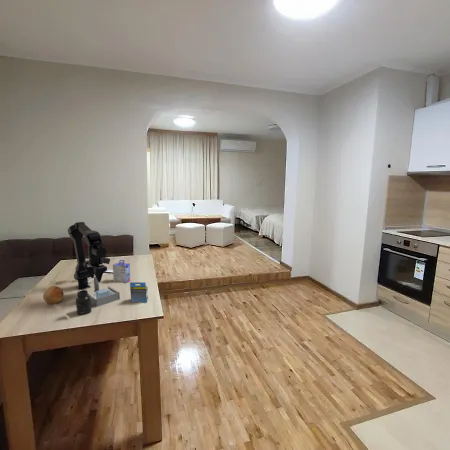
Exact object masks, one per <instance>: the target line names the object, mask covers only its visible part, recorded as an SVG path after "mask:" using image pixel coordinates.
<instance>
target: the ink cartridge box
mask: <svg viewBox="0 0 450 450" xmlns="http://www.w3.org/2000/svg"><path fill="white" fill-rule="evenodd" d="M130 264H131V263H127V262H126V261H125V259H119V261H118V262H116V263H114V264H112V275H113V276H112V277H113V278H112V279H113V283H116V282H121V283H123V284H127V283H130V282H131V265H130Z"/></svg>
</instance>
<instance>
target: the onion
mask: <svg viewBox="0 0 450 450" xmlns="http://www.w3.org/2000/svg"><path fill="white" fill-rule="evenodd" d="M64 295H65V294H64V291H63V288H61V287H59V286H57V285H52V286H49V287H48V288H46V290H45V291H44V292H43V296H42V299H43V300H44V302H45V303H46V304H47V305H57V304H59V303H60V302H62V300H63V298H64Z"/></svg>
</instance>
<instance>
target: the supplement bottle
mask: <svg viewBox="0 0 450 450" xmlns="http://www.w3.org/2000/svg"><path fill="white" fill-rule="evenodd" d="M88 291H89V290H86V289H85V290H84V289H82V290H79V291H78V292H76V296H77V297H76V298H75V307H76V315H78V316H86V315H89V314H91V313H92V308H93V307H92V304H91V298H90V296H89V295H88V294H89V292H88Z"/></svg>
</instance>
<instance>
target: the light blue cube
mask: <svg viewBox="0 0 450 450" xmlns="http://www.w3.org/2000/svg"><path fill="white" fill-rule="evenodd" d="M106 289H107V288H102V289H99V290H98V291H96V299H98V298H101V297H104V296H108V295H109V292H108V290H106Z"/></svg>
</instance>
